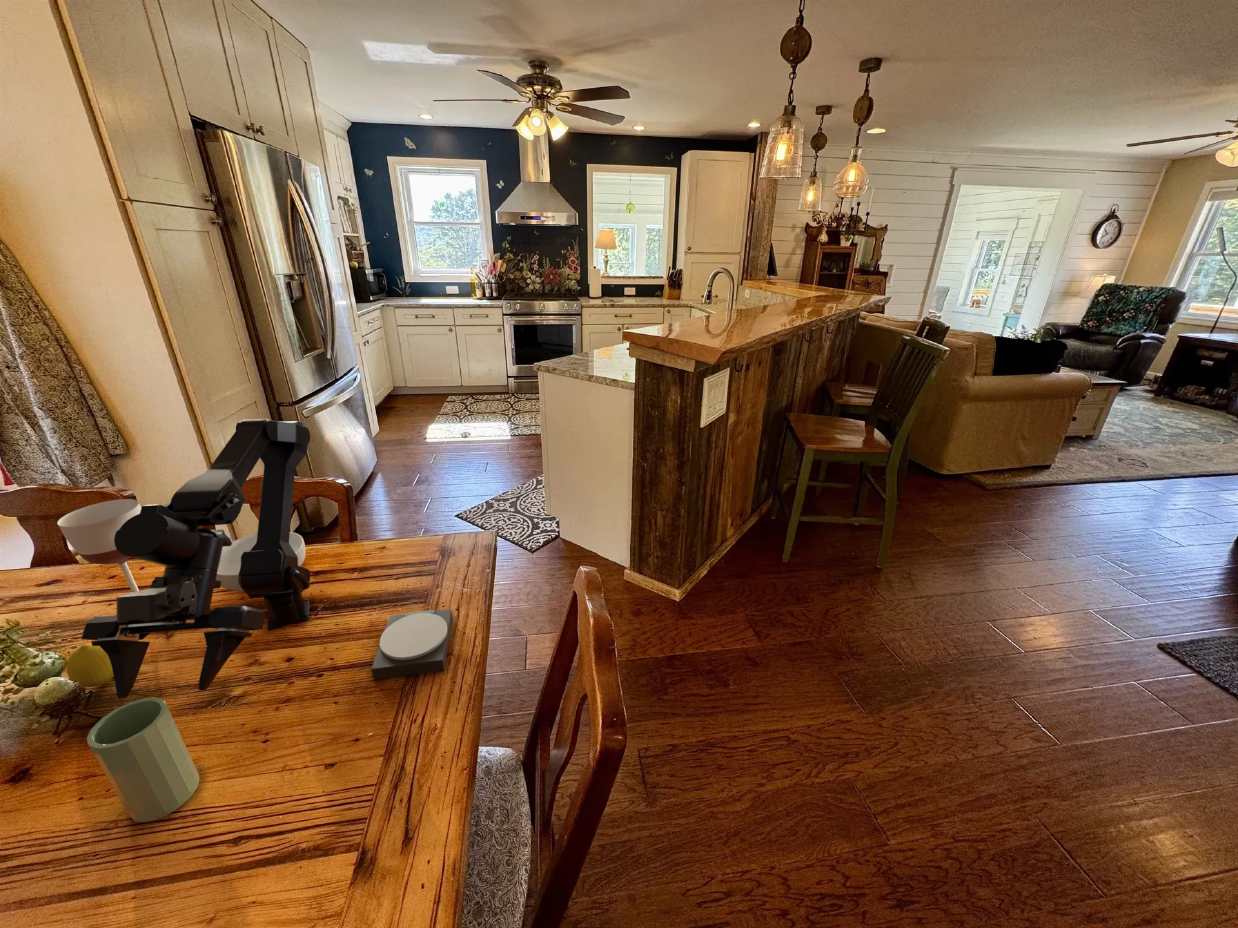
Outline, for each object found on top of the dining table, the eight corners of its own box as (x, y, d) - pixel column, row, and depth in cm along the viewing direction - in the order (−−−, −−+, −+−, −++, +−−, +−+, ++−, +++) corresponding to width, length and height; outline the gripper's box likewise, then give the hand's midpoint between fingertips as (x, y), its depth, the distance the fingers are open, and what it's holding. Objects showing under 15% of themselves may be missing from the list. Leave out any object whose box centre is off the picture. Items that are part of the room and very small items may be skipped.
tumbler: (138, 783, 64) (99, 711, 59) (204, 760, 67) (172, 689, 62) (121, 833, 59) (76, 758, 54) (194, 805, 62) (157, 731, 57)
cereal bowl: (290, 600, 98) (281, 570, 95) (197, 608, 95) (185, 578, 93) (323, 553, 114) (316, 527, 111) (243, 559, 111) (234, 532, 108)
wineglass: (100, 630, 90) (45, 520, 81) (164, 598, 98) (120, 495, 89) (130, 644, 86) (75, 531, 78) (193, 610, 95) (151, 504, 86)
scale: (391, 625, 92) (388, 613, 91) (452, 618, 94) (451, 606, 93) (373, 680, 80) (370, 666, 79) (444, 670, 82) (441, 657, 81)
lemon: (97, 701, 76) (75, 661, 72) (69, 694, 77) (47, 655, 73) (136, 673, 81) (117, 635, 77) (109, 668, 82) (90, 630, 78)
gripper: (61, 565, 60) (14, 706, 54) (228, 555, 63) (201, 688, 57) (134, 580, 70) (101, 700, 65) (275, 571, 73) (255, 685, 67)
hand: (162, 694), depth 63 cm, fingers open, 9 cm apart
